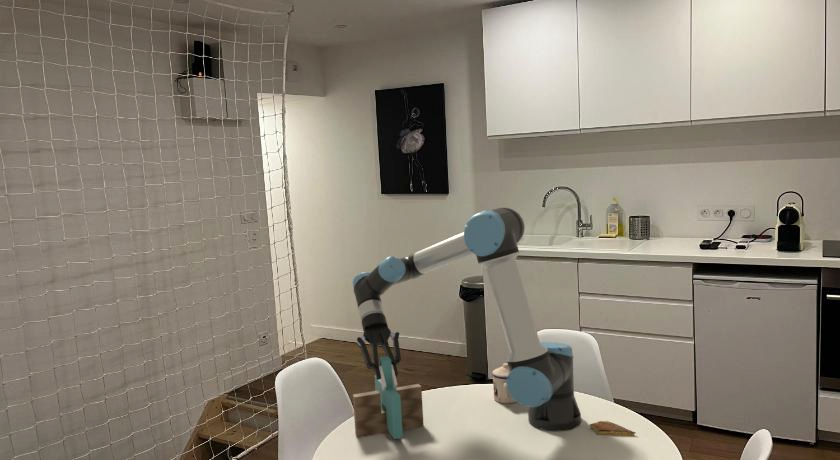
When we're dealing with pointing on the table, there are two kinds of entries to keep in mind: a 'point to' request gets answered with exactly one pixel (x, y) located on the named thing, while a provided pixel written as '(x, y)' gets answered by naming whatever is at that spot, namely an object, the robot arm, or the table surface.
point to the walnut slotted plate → (375, 419)
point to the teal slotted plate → (390, 400)
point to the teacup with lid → (501, 385)
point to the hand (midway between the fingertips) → (390, 387)
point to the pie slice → (610, 429)
